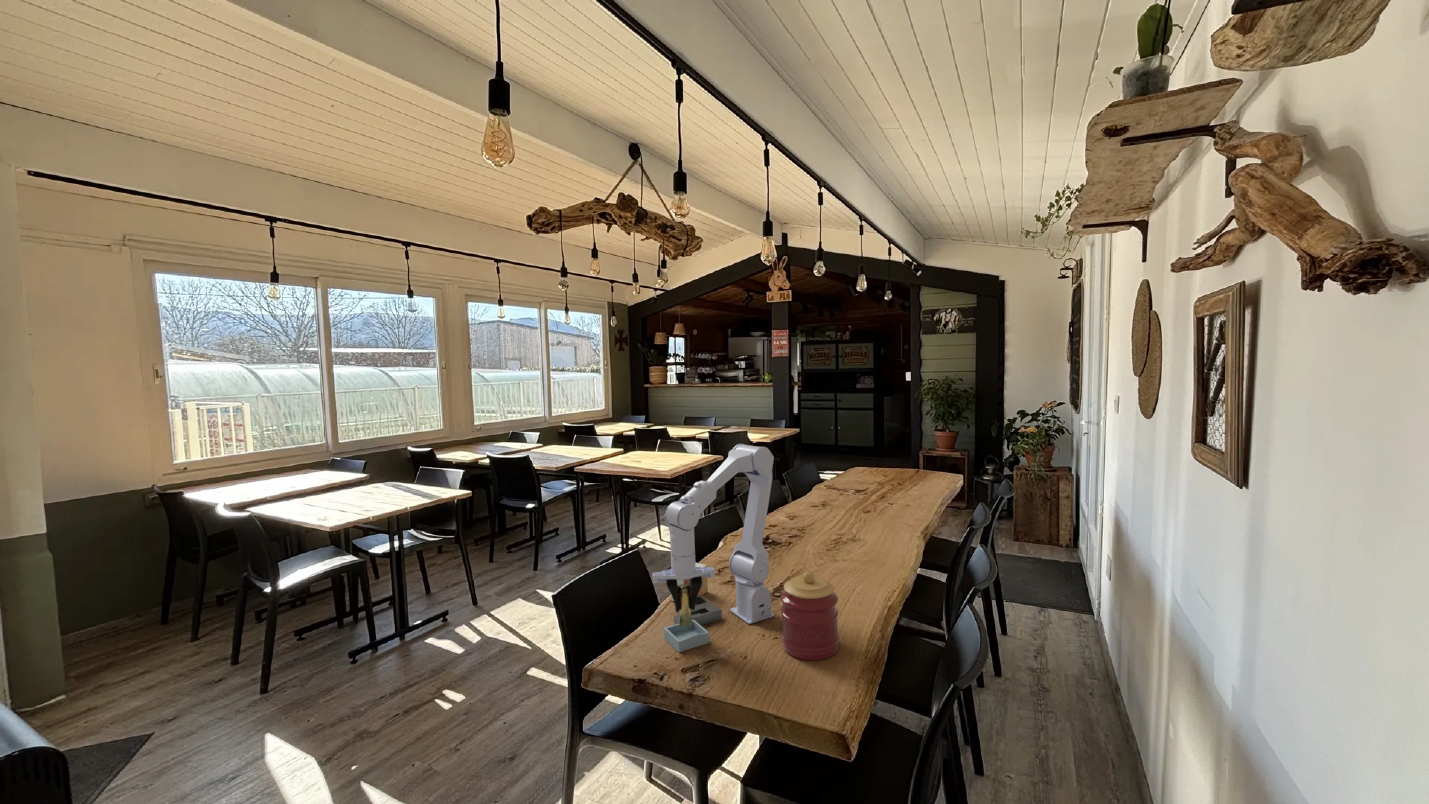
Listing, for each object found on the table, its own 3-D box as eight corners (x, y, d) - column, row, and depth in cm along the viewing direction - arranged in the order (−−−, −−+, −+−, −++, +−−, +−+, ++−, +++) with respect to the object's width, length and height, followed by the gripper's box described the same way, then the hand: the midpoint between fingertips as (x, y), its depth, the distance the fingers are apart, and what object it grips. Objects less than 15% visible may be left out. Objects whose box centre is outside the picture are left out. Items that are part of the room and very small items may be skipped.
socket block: (722, 619, 143) (721, 609, 143) (694, 627, 139) (694, 617, 139) (701, 603, 153) (701, 594, 152) (675, 611, 149) (675, 601, 149)
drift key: (704, 623, 141) (703, 614, 141) (679, 631, 138) (679, 621, 137) (698, 619, 144) (697, 609, 144) (674, 626, 140) (673, 616, 140)
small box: (708, 591, 160) (685, 605, 152) (693, 587, 164) (669, 601, 155) (707, 564, 160) (683, 577, 151) (692, 560, 163) (668, 573, 155)
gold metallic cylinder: (693, 621, 134) (691, 584, 134) (690, 626, 131) (688, 589, 131) (680, 620, 135) (679, 583, 134) (677, 626, 132) (676, 588, 131)
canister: (800, 627, 137) (798, 557, 136) (849, 643, 129) (847, 569, 128) (770, 650, 127) (768, 575, 126) (821, 668, 119) (819, 588, 118)
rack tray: (709, 642, 132) (708, 632, 131) (678, 652, 128) (678, 641, 127) (693, 629, 138) (693, 619, 138) (664, 637, 135) (663, 628, 134)
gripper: (710, 544, 137) (712, 598, 138) (651, 550, 134) (653, 604, 135) (715, 554, 130) (717, 611, 131) (652, 560, 127) (655, 618, 128)
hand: (685, 608), depth 132 cm, fingers closed on gold metallic cylinder, 3 cm apart
